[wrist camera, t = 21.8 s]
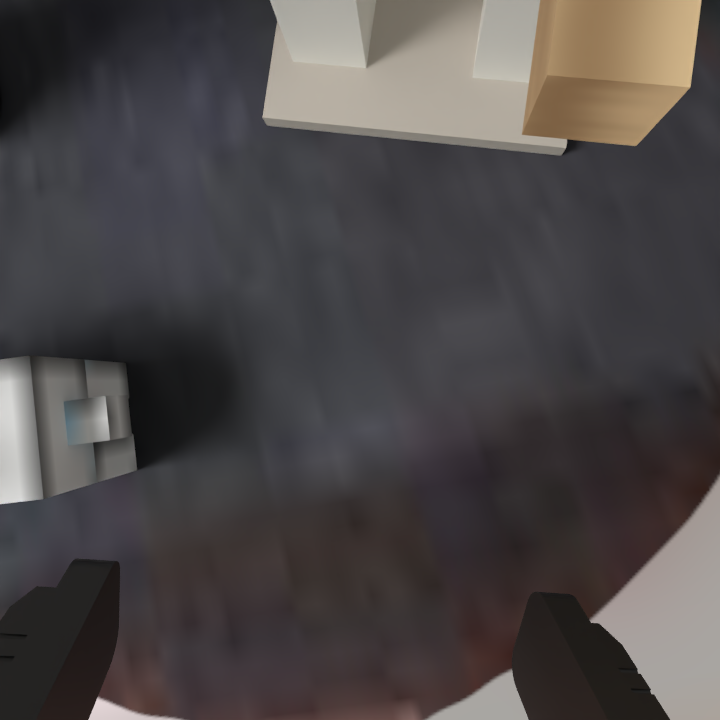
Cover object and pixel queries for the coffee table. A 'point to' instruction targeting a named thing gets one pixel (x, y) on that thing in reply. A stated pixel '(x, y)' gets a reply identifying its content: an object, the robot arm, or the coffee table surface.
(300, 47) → the two-step rack
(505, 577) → the coffee table surface
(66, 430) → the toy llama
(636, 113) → the wooden slat
